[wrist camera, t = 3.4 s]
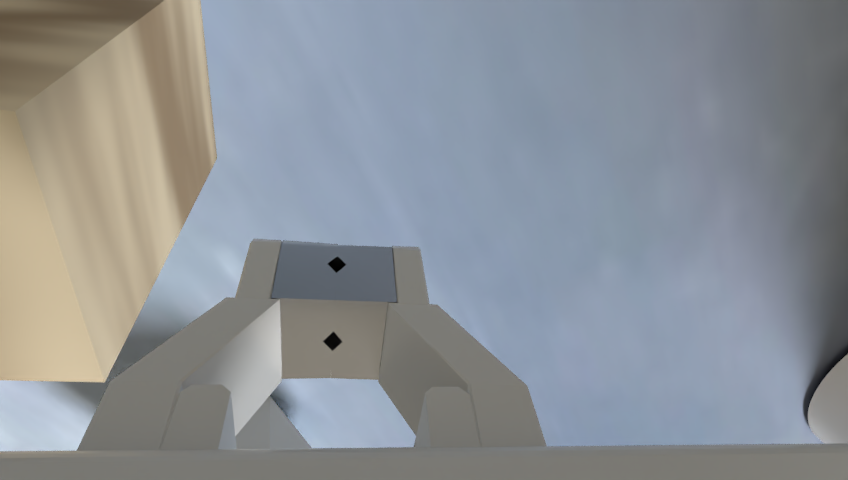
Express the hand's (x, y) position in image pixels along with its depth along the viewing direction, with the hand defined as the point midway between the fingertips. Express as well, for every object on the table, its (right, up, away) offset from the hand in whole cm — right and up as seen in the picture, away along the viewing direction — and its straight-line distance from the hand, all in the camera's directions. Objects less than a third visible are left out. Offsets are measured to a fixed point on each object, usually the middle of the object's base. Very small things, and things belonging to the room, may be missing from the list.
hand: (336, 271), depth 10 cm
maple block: (-7, +6, +7) cm, 12 cm away
